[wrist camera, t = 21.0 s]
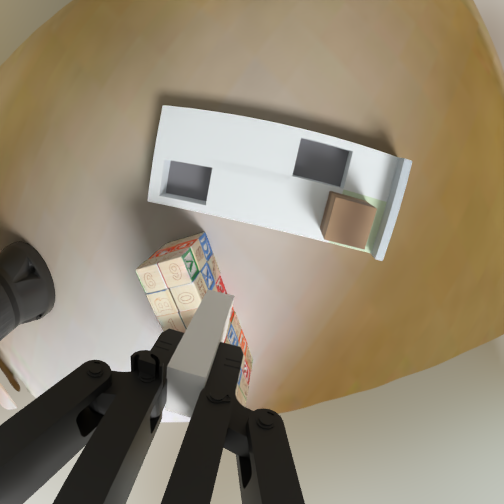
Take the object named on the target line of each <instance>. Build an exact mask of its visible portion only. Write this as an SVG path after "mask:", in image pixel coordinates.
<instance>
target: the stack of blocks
mask: <svg viewBox="0 0 504 504" xmlns="http://www.w3.org/2000/svg"><path fill="white" fill-rule="evenodd" d="M135 271H136V273H137V276H138V278H139V280H140V282H141V284H142V287H143V289H144V291H145V292H146V296H147V298H148V300H149V302H150V305H151V307H152V309H153V311H154V313H155V315H156V316H157V319H158V321H159V323H160V325H161V327H162V329H163V331H166V330H167V329H169V328H170V329H173V330H176V331H180V332H183V333H185V331H186V329H187V327H188V325H189V324H190V322H191V320H192V318H193V316H194V314H195V312H196V310H197V309H198V307H199V305H200V303H201V301H202V299H203V297H204V295H205V294H206V292H207V290H212V291H216V292H220V293H224V294H227V292H226V290H225V287H224V284H223V282H222V279H221V276H220V271H219V268H218V266H217V263H216V260H215V257H214V255H213V253H212V250H211V247H210V244H209V241H208V238H207V236H206V233H205V232H203V233H200V234H196V235H193V236H190V237H186V238H182V239H179V240H176V241H172V242H169V243H167V244H165V245H164V246H163V247H161V248H160V249H159V250H158V251H157V252H155V253H154V254H153V255H152V256H151V257H150V258H149V259H148V260H146V261H145V262H144V263H142V264H141V265H140V266H139V267H138V268H137V269H136V270H135ZM224 343H227V344H231V345H236V346H240V347H241V349H242V351H243V354H244V355H243V360H242V364H241V369H240V373H239V378H238V382H237V387H236V394H235V395H236V398H237V400H238V401H239V403H241V404H242V405H243V406H244V407H245V406H246V400H247V395H248V389H249V386H248V385H249V379H250V372H251V370H252V362H253V359H252V356H251V354H250V351H249V348H248V346H247V342H246V339H245V337H244V334H243V331H242V329H241V326H240V323H239V321H238V318H237V315H236V313H235V312H234V310H233V307H232V310H231V315H230V319H229V324H228V329H227V334H226V338H225V341H224Z"/></svg>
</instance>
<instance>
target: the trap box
mask: <svg viewBox="0 0 504 504" xmlns="http://www.w3.org/2000/svg"><path fill="white" fill-rule="evenodd" d="M411 164H412V161H411V160H408V159H405V158H399V157H396V156H393V155H390V154H387V153H384V152H381V151H378V150H375V149H372V148H369V147H366V146H363V145H360V144H356V143H353V142H350V141H346V140H343V139H339V138H336V137H332V136H329V135H325V134H321V133H317V132H314V131H310V130H306V129H302V128H297V127H293V126H289V125H285V124H280V123H275V122H271V121H266V120H261V119H256V118H251V117H245V116H240V115H234V114H228V113H221V112H215V111H208V110H201V109H193V108H185V107H176V106H166V105H163V107H162V112H161V117H160V122H159V127H158V133H157V139H156V144H155V150H154V157H153V163H152V170H151V177H150V184H149V192H148V200H147V201H148V202H153V203H158V204H163V205H167V206H172V207H177V208H181V209H186V210H191V211H195V212H200V213H204V214H209V215H214V216H218V217H222V218H227V219H231V220H236V221H240V222H245V223H249V224H253V225H258V226H262V227H266V228H270V229H275V230H279V231H283V232H287V233H291V234H296V235H300V236H304V237H308V238H312V239H316V240H320V241H324V242H328V243H332V244H336V245H340V246H344V247H348V248H352V249H356V250H360V251H364V252H368V253H371V254H372V256H373V257H374V258H375V259H376V260H380V261H383V258H384V255H385V252H386V250H387V247H388V244H389V241H390V238H391V235H392V231H393V228H394V225H395V222H396V219H397V215H398V212H399V209H400V205H401V202H402V198H403V195H404V191H405V188H406V184H407V180H408V176H409V172H410V168H411ZM329 191H333V192H336V193H340V194H344V195H347V196H351V197H354V198H358V199H361V200H365V201H367V202H368V203H370V204H371V205H373V206H374V207H375V208H377V211H376V214H375V217H374V221H373V224H372V227H371V231H370V234H369V237H368V240H367V243H366V246H365V249H360V248H356V247H352V246H348V245H344V244H340V243H336V242H332V241H328V240H324V238H323V235H322V233H321V230H320V225H321V221H322V218H323V214H324V210H325V206H326V203H327V199H328V195H329Z"/></svg>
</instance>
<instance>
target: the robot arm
mask: <svg viewBox="0 0 504 504" xmlns="http://www.w3.org/2000/svg"><path fill="white" fill-rule="evenodd" d="M233 300H234V296H233V295H229V294H224V293H220V292H216V291H212V290H207V292H206V294H205V295H204V297H203V299H202V301H201V303H200V305H199V307H198V309H197V310H196V312H195V314H194V316H193V318H192V320H191V322H190V324H189V325H188V327H187V329H186V331H185V333H183V332H180V331H176V330H173V329H170V328H169V329H167V330H166V331H164V332H162V333H161V335H160V336H159V338H158V339H157V341H156V343H155V344H154V346H153V347H152V349H151V351H148V350H143V351H138V352H135V353H134V354H133V355H131V372H117V371H111V369H110V366H109V365H108V364H106V363H105V362H103V361H100V360H90V361H87V362H85V363H84V364H82V365H81V366H80V367H78V368H77V369H75V370H74V371H73V372H71V373H70V374H69V375H67V376H66V377H65V378H63V379H62V380H61V381H59V382H58V383H57V384H55V385H54V386H52V387H51V388H50V389H48V390H47V391H46V392H44V393H43V394H42V395H40V396H39V397H38V398H36V399H35V400H34V401H32V402H31V403H30V404H28V405H27V406H26V407H24V408H23V409H22V410H20V411H19V412H18V413H16V414H15V415H14V416H12V417H11V418H10V419H8V420H7V421H5V422H4V423H3V424H2V425H1V426H0V504H23V503H24V502H25V501H26V500H27V499H28V498H29V497H31V496H32V495H33V494H34V493H35V492H36V491H37V490H38V489H39V488H40V487H42V486H43V485H44V484H45V483H46V482H47V481H48V480H49V479H50V478H51V477H52V476H53V475H55V474H56V473H57V472H58V471H59V470H60V469H61V468H62V467H63V466H64V465H65V464H66V463H67V462H68V461H69V460H71V459H72V458H73V457H74V456H75V455H76V454H77V453H78V452H79V451H80V450H81V449H82V448H83V447H84V446H85V445H86V446H85V448H84V449H83V451H82V453H81V455H80V456H79V458H78V460H77V462H76V463H75V465H74V467H73V468H72V470H71V472H70V474H69V475H68V477H67V479H66V481H65V482H64V484H63V486H62V488H61V490H60V491H59V493H58V495H57V497H56V499H55V500H54V503H53V504H126V501H127V499H128V497H129V494H130V492H131V490H132V487H133V485H134V482H135V480H136V478H137V475H138V473H139V470H140V468H141V466H142V464H143V461H144V459H145V456H146V454H147V452H148V449H149V447H150V445H151V442H152V440H153V438H154V435H155V433H156V431H157V429H158V426H159V424H160V422H161V419H162V410H163V408H164V406H165V410H167V411H171V412H174V413H177V414H180V415H184V416H187V417H191V420H190V422H189V426H188V428H187V431H186V434H185V437H184V440H183V442H182V445H181V448H180V451H179V454H178V456H177V459H176V462H175V465H174V468H173V471H172V473H171V476H170V479H169V482H168V485H167V488H166V491H165V493H164V496H163V499H162V502H161V504H210V501H211V497H212V493H213V488H214V484H215V480H216V476H217V472H218V468H219V463H220V459H221V455H222V450H223V448H225V449H227V450H229V451H231V452H233V453H235V454H236V459H237V467H238V475H239V483H240V491H241V498H242V504H305V503H304V499H303V495H302V491H301V488H300V484H299V480H298V476H297V473H296V469H295V465H294V461H293V457H292V453H291V450H290V446H289V442H288V438H287V434H286V430H285V427H284V423H283V420H282V418H281V417H280V416H279V415H278V414H277V413H276V412H274V411H272V410H269V409H257V410H255V411H252V410H250V409H248V408H246V407H244V406H243V405H242V404H241V403H239V401H238V400H237V398H236V395H235V394H236V387H237V382H238V378H239V373H240V369H241V364H242V360H243V355H244V354H243V351H242V349H241V347H240V346H236V345H231V344H227V343H224V341H225V338H226V334H227V329H228V324H229V319H230V315H231V310H232V305H233ZM54 302H55V289H54V284H53V280H52V277H51V274H50V272H49V270H48V268H47V266H46V264H45V262H44V261H43V259H42V258H41V256H40V255H39V254H38V252H37V251H36V250H35V249H34V248H32V247H31V246H30V245H28V244H26V243H24V242H15V243H13V244H11V245H9V246H7V247H5V248H4V249H3V250H2V252H1V253H0V341H1V340H2V339H3V338H4V337H5V336H6V335H8V334H9V333H10V332H11V331H12V330H13V329H15V328H16V327H17V326H18V325H20V324H24V323H27V322H31V321H34V320H38V319H41V318H42V317H44V316H45V315H46V314H48V313H49V312H50V311H51V310H52V308H53V306H54ZM165 404H166V405H165Z"/></svg>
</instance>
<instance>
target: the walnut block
mask: <svg viewBox="0 0 504 504" xmlns="http://www.w3.org/2000/svg"><path fill="white" fill-rule="evenodd" d="M376 211H377V208H375V207H374V206H373V205H371V204H370V203H368V202H367V201H365V200H361V199H358V198H354V197H351V196H347V195H344V194H340V193H336V192H333V191H329V195H328V199H327V203H326V206H325V210H324V214H323V218H322V221H321V225H320V230H321V233H322V235H323V238H324V240H328V241H332V242H336V243H340V244H344V245H348V246H352V247H356V248H360V249H365V246H366V243H367V240H368V237H369V234H370V231H371V227H372V224H373V221H374V217H375V214H376Z"/></svg>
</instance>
